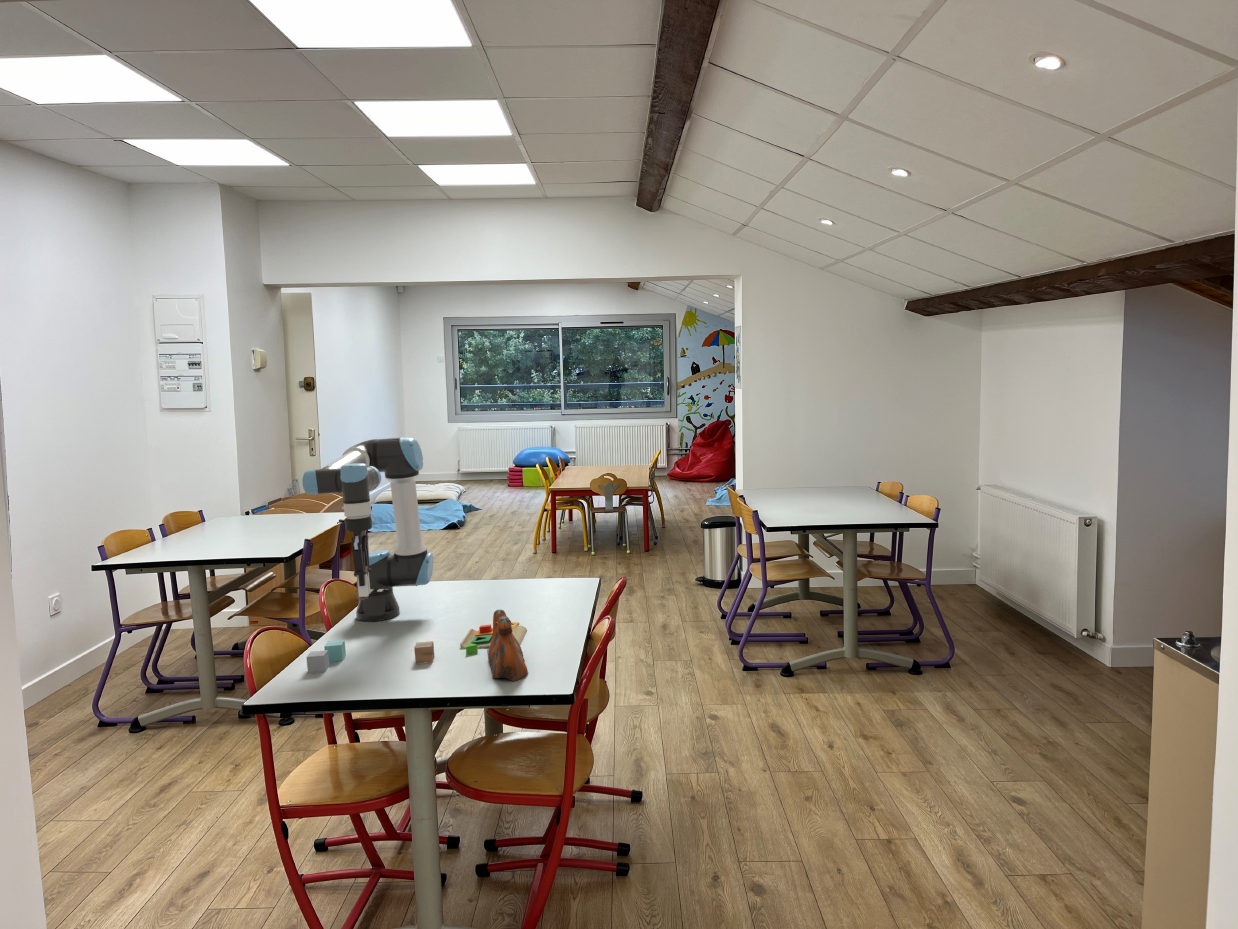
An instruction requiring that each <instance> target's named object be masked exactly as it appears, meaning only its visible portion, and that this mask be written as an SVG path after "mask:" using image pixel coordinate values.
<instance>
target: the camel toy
mask: <svg viewBox="0 0 1238 929" xmlns="http://www.w3.org/2000/svg"><path fill="white" fill-rule="evenodd" d="M511 622H512V621H511V619H510V618H509V617H508V616H507V613H506V611H504V609H501V608H499V609H496V610H494V612H493V616H492V628H493V634H492V640H491V642H490V647H489V648H488V649H489V650H488V653H487V658H488V661H489V663H490V669H491V671H492V675H491V676H492V678H493V679H500V678H502V679H503V678H504V679H507V680H510V681H511V682H515V681H518V680H521V679H522V678H523V677H524V676H525V675H527V674H528V671H529V669H528V667H527V665H526V662H525V658H524V656H525V655H524V651H523V650H522V647H521V645H519V643H518V641H517V639H516V638H515V637H514V635H513V633H512V627H511V626H513V625H512V623H511Z"/></svg>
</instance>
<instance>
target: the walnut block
mask: <svg viewBox="0 0 1238 929" xmlns="http://www.w3.org/2000/svg"><path fill="white" fill-rule="evenodd" d="M413 649H414V659H415V660H414V662H415V665H417V664H429V663H430V664H431V663H433V662H434V659H435V657H436V656H435V642H434V641H433V640H432V641H431V640H430V641H429V640H428V641H419V642H416V643H415V645H414V648H413Z"/></svg>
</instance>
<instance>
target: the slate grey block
mask: <svg viewBox="0 0 1238 929" xmlns="http://www.w3.org/2000/svg"><path fill="white" fill-rule="evenodd" d="M306 668H307V674H313V673H317V672H318V673H326V672H327V671H328V670H329V669H328V668H330V662H329V656H328V650H325V649H323V650H316V651H315V650H314V651H310V652H309V653H308V654H307V656H306Z"/></svg>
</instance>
